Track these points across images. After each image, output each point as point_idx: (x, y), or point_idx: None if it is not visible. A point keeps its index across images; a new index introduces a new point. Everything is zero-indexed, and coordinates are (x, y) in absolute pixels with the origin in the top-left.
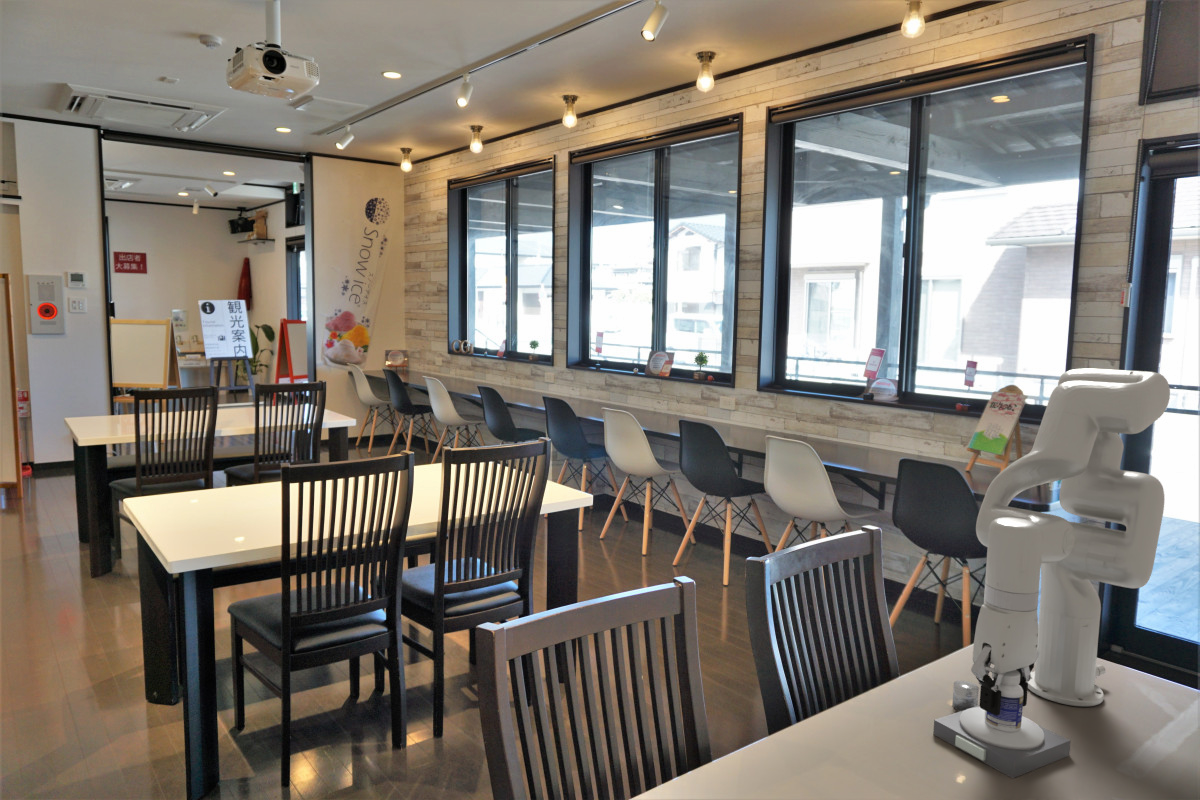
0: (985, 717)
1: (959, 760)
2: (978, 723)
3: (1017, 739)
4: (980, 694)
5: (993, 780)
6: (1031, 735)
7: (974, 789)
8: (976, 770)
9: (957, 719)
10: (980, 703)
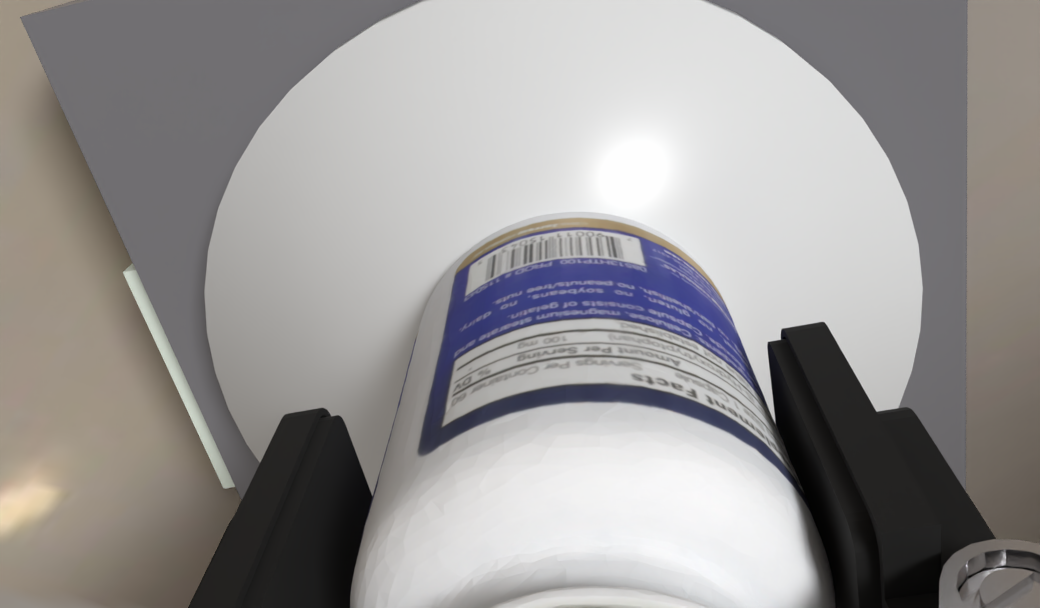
0: (424, 316)
1: (116, 358)
2: (361, 281)
3: None
4: (239, 511)
5: (210, 560)
6: None
7: (46, 593)
8: (167, 468)
9: (273, 73)
10: (280, 440)
